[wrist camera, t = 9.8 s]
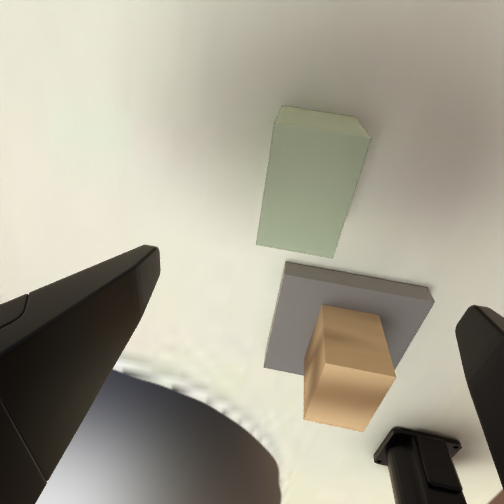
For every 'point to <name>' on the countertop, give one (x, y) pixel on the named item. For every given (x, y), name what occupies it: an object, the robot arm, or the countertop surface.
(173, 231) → the countertop surface
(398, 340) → the grey baseplate
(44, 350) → the robot arm
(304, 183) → the sage brick
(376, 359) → the oak brick
